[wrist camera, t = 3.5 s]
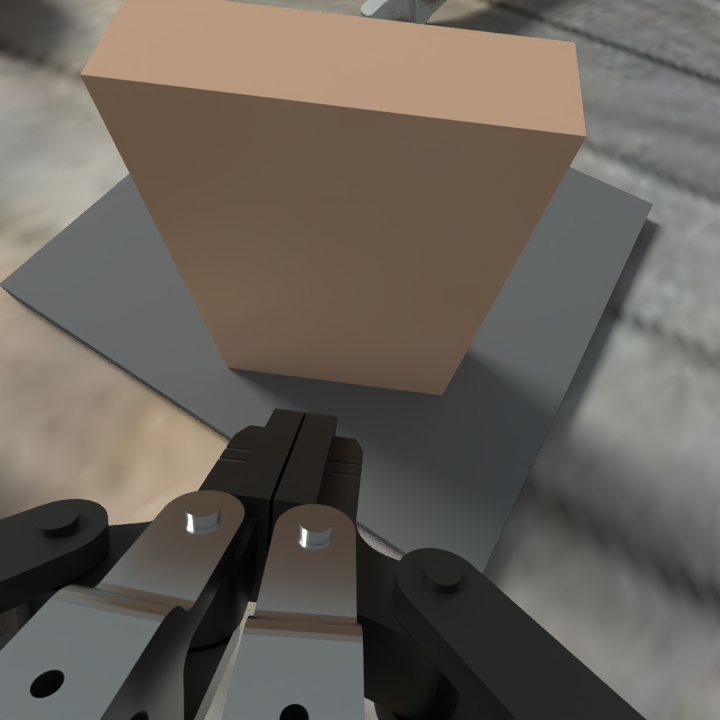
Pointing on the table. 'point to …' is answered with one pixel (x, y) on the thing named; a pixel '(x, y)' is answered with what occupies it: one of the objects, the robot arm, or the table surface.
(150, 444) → the table surface
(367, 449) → the mat
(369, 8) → the wrench
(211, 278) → the tan rectangular block
